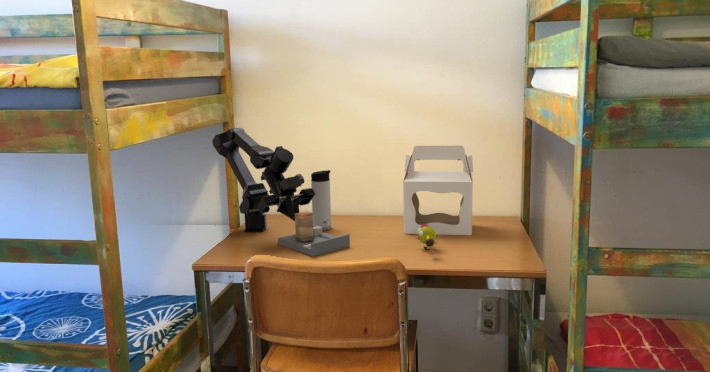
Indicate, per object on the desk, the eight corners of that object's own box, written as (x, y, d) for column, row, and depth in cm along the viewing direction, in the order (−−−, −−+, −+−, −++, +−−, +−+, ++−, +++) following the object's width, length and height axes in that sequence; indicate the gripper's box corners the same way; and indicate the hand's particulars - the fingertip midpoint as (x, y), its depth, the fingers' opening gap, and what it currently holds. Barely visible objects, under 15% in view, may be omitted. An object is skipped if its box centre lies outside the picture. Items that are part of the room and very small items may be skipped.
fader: (293, 238, 182) (292, 213, 180) (305, 235, 185) (304, 210, 183) (303, 241, 178) (302, 215, 176) (315, 238, 181) (314, 213, 179)
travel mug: (329, 231, 199) (327, 172, 195) (310, 230, 200) (308, 171, 196) (334, 226, 205) (332, 169, 201) (315, 225, 206) (313, 168, 202)
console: (278, 244, 185) (277, 230, 184) (313, 235, 194) (313, 222, 193) (313, 256, 171) (312, 241, 171) (349, 246, 180) (349, 232, 180)
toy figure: (415, 240, 185) (415, 219, 184) (432, 240, 185) (432, 219, 184) (419, 258, 168) (419, 235, 166) (439, 257, 167) (439, 234, 166)
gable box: (472, 225, 202) (473, 143, 197) (472, 235, 189) (473, 148, 184) (407, 223, 206) (406, 143, 201) (402, 233, 193) (402, 148, 188)
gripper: (260, 170, 177) (283, 211, 171) (310, 162, 189) (333, 201, 183) (248, 192, 185) (269, 233, 178) (297, 184, 196) (319, 222, 190)
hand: (299, 222), depth 182 cm, fingers closed
